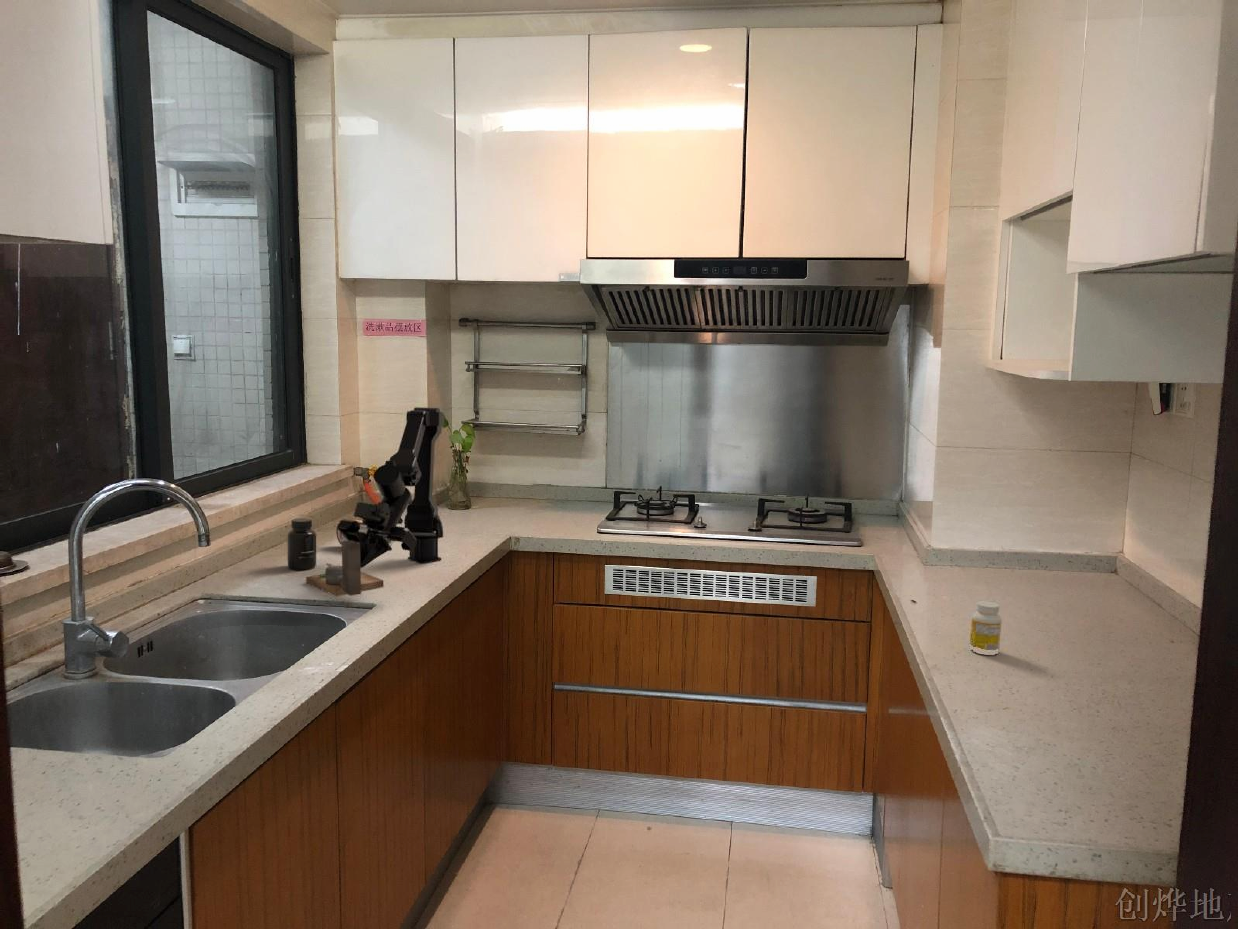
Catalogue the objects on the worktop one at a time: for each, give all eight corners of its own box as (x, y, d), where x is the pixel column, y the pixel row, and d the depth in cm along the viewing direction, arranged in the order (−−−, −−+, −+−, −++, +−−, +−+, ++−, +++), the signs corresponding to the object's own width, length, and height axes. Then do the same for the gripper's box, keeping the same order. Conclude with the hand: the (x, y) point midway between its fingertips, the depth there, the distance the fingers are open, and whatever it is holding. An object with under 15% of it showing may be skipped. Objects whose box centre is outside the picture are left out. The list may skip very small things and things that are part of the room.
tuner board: (352, 574, 226) (352, 566, 226) (383, 586, 216) (383, 577, 216) (306, 583, 218) (306, 574, 217) (335, 596, 208) (335, 587, 208)
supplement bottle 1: (307, 571, 228) (306, 523, 226) (282, 569, 229) (280, 521, 227) (322, 565, 234) (320, 518, 233) (297, 563, 236) (296, 516, 234)
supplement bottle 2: (993, 658, 178) (997, 610, 177) (965, 651, 181) (969, 604, 180) (1002, 651, 182) (1006, 604, 181) (975, 645, 186) (979, 598, 184)
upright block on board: (316, 575, 218) (315, 529, 216) (337, 573, 220) (337, 527, 219) (344, 596, 202) (343, 546, 200) (366, 593, 205) (366, 544, 203)
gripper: (341, 484, 211) (307, 541, 203) (408, 492, 203) (375, 552, 195) (365, 512, 219) (333, 568, 211) (430, 521, 212) (400, 579, 203)
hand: (359, 566), depth 205 cm, fingers closed
